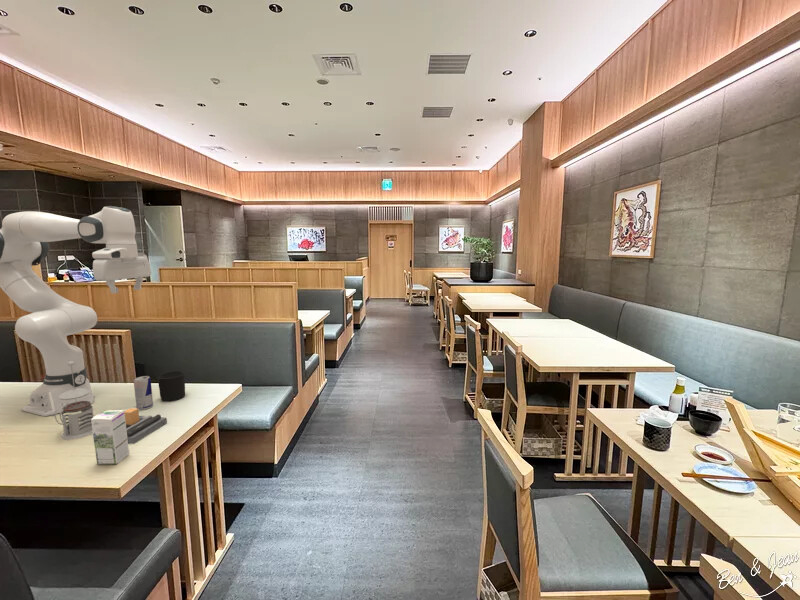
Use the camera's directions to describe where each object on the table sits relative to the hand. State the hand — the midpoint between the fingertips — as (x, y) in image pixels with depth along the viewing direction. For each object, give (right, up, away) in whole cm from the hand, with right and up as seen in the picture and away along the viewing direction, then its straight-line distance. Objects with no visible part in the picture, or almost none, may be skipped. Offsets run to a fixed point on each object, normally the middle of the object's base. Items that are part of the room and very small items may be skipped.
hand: (126, 291), depth 130 cm
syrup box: (+14, -51, -23) cm, 58 cm away
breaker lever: (+8, -46, -7) cm, 47 cm away
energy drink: (-1, -46, +11) cm, 47 cm away
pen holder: (+4, -44, +20) cm, 49 cm away
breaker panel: (+8, -48, -7) cm, 49 cm away
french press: (-10, -49, -9) cm, 50 cm away
